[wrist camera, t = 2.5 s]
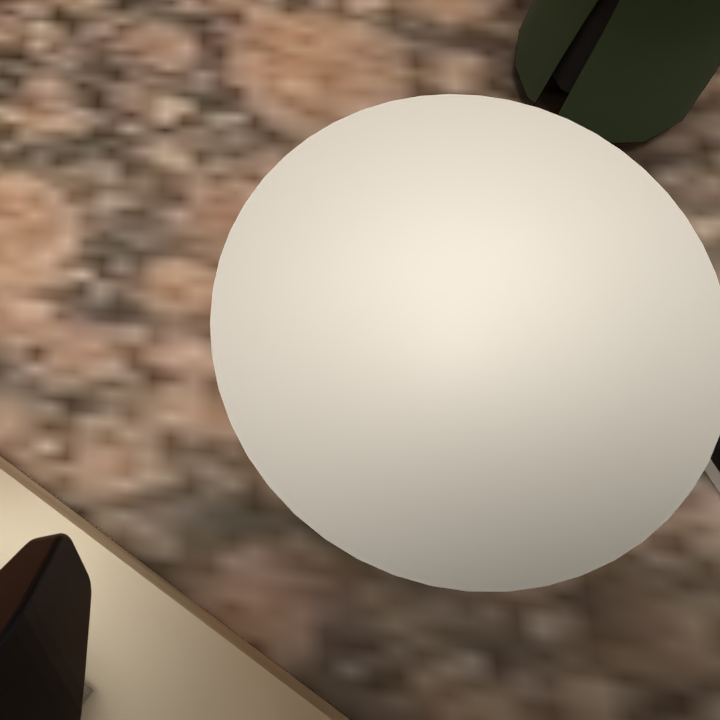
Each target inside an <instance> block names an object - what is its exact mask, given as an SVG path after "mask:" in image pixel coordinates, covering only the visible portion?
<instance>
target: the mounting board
mask: <svg viewBox="0 0 720 720" xmlns="http://www.w3.org/2000/svg"><path fill="white" fill-rule="evenodd" d="M58 533H64V534H67V535H68V536H69V537H70V538H71V540H72V541H73V544H74V546H75V548H76V550H77V552H78V554H79V556H80V558H81V560H82V562H83V564H84V567H85V569H86V571H87V573H88V575H89V578H90V582H91V591H92V594H91V608H90V621H89V633H88V646H87V658H86V671H85V684H86V685H87V686H88V687H90V688H91V689H92V690H93V692H92V693H91V694H90V696H89V697H88V699H87V700H86V701H85V703H84V704H83V705H82V714H81V720H350V719H349V718H347V717H346V716H345V715H343V714H342V713H341V712H339V711H338V710H337V709H335V708H334V707H333V706H331V705H330V704H329V703H327V702H326V701H325V700H323V699H322V698H321V697H319V696H318V695H317V694H315V693H314V692H313V691H311V690H310V689H309V688H307V687H306V686H305V685H303V684H302V683H301V682H300V681H298V680H297V679H296V678H294V677H293V676H292V675H290V674H289V673H288V672H286V671H285V670H284V669H282V668H281V667H280V666H278V665H277V664H276V663H274V662H273V661H272V660H270V659H269V658H268V657H266V656H265V655H264V654H262V653H261V652H260V651H258V650H257V649H256V648H254V647H253V646H252V645H250V644H249V643H248V642H246V641H245V640H244V639H243V638H241V637H240V636H239V635H237V634H236V633H235V632H233V631H232V630H231V629H229V628H228V627H227V626H225V625H224V624H223V623H221V622H220V621H219V620H217V619H216V618H215V617H213V616H212V615H211V614H209V613H208V612H207V611H205V610H204V609H203V608H201V607H200V606H199V605H197V604H196V603H195V602H193V601H192V600H191V599H189V598H188V597H187V596H185V595H184V594H183V593H182V592H180V591H179V590H178V589H176V588H175V587H174V586H172V585H171V584H170V583H168V582H167V581H166V580H164V579H163V578H162V577H160V576H159V575H158V574H156V573H155V572H154V571H152V570H151V569H150V568H148V567H147V566H146V565H144V564H143V563H142V562H140V561H139V560H138V559H136V558H135V557H134V556H132V555H131V554H130V553H128V552H127V551H126V550H124V549H123V548H122V547H121V546H119V545H118V544H117V543H115V542H114V541H113V540H111V539H110V538H109V537H107V536H106V535H105V534H103V533H102V532H101V531H99V530H98V529H97V528H95V527H94V526H93V525H91V524H90V523H89V522H87V521H86V520H85V519H83V518H82V517H81V516H79V515H78V514H77V513H75V512H74V511H73V510H71V509H70V508H69V507H67V506H66V505H65V504H63V503H62V502H61V501H60V500H58V499H57V498H56V497H54V496H53V495H52V494H50V493H49V492H48V491H46V490H45V489H44V488H42V487H41V486H40V485H38V484H37V483H36V482H34V481H33V480H32V479H30V478H29V477H28V476H26V475H25V474H24V473H22V472H21V471H20V470H18V469H17V468H16V467H14V466H13V465H12V464H10V463H9V462H8V461H6V460H5V459H4V458H2V457H1V456H0V569H1V568H2V567H3V566H4V565H5V564H6V563H7V562H8V561H9V560H10V559H11V558H12V557H13V556H14V555H15V554H16V553H17V552H18V551H19V550H20V549H21V548H22V547H23V546H24V545H25V544H27V543H28V542H29V541H30V540H32V539H35V538H38V537H43V536H48V535H53V534H58Z"/></svg>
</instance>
